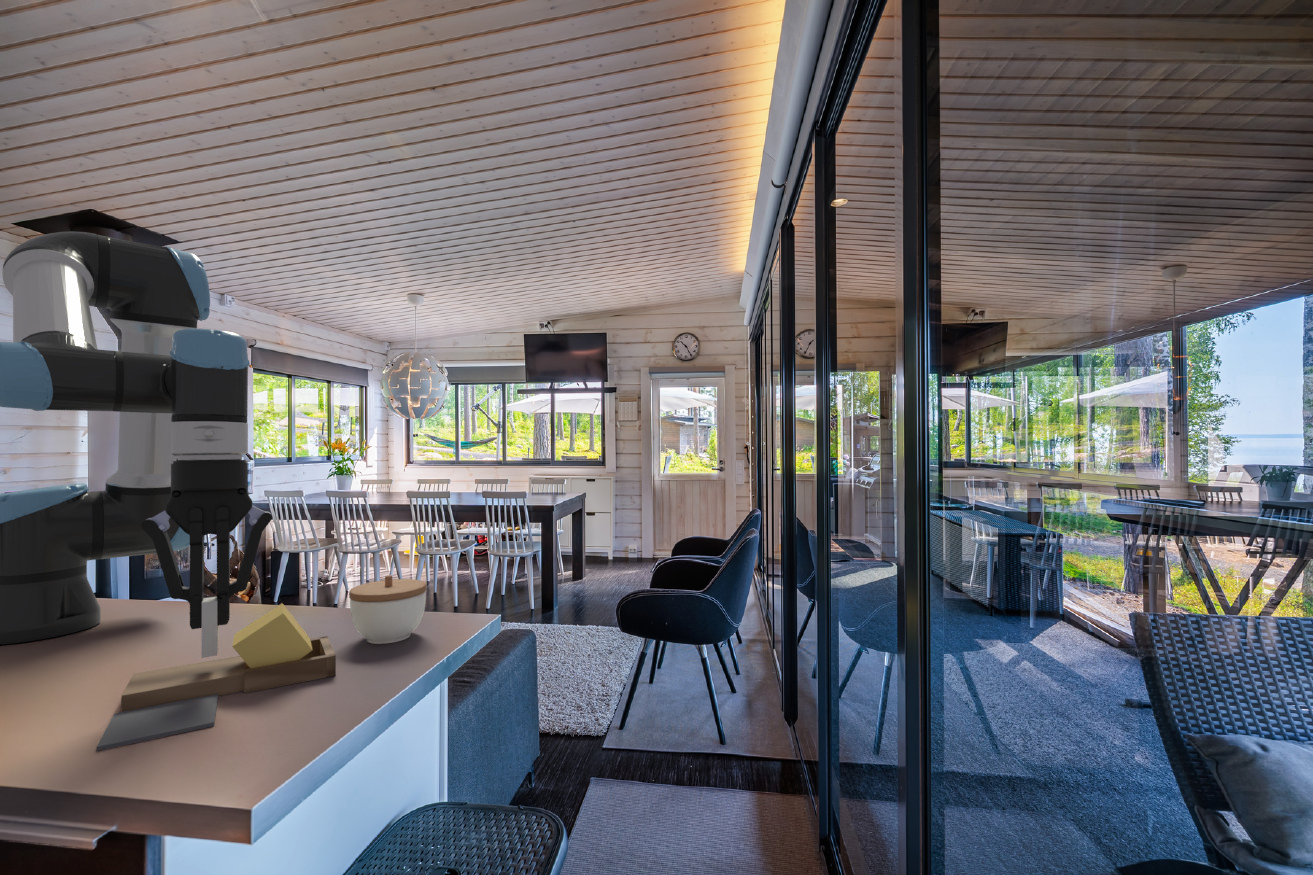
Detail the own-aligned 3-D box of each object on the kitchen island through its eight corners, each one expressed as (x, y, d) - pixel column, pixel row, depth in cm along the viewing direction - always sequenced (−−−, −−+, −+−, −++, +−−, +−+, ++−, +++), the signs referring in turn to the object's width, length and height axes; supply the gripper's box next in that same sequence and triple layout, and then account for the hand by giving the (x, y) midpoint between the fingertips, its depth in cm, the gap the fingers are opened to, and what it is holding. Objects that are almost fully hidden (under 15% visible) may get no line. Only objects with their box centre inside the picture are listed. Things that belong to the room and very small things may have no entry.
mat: (114, 717, 65) (114, 713, 65) (218, 697, 70) (218, 693, 70) (96, 751, 57) (96, 746, 57) (214, 725, 62) (214, 721, 62)
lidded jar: (441, 631, 94) (441, 571, 94) (385, 653, 84) (385, 585, 85) (391, 624, 98) (391, 566, 99) (332, 644, 89) (332, 580, 89)
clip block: (234, 634, 76) (282, 603, 79) (264, 669, 78) (309, 637, 81) (232, 646, 71) (283, 613, 74) (263, 684, 73) (312, 650, 76)
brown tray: (134, 687, 73) (134, 666, 73) (327, 653, 84) (327, 635, 84) (119, 717, 64) (119, 693, 64) (335, 675, 76) (335, 655, 76)
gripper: (135, 459, 67) (133, 674, 66) (274, 457, 74) (274, 651, 73) (145, 459, 73) (144, 655, 72) (273, 457, 80) (273, 636, 79)
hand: (210, 653), depth 73 cm, fingers closed
